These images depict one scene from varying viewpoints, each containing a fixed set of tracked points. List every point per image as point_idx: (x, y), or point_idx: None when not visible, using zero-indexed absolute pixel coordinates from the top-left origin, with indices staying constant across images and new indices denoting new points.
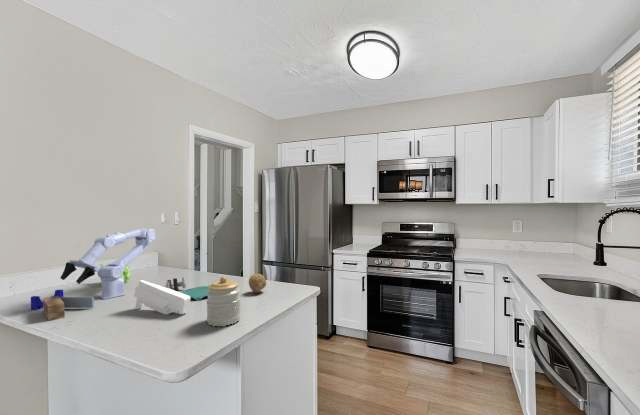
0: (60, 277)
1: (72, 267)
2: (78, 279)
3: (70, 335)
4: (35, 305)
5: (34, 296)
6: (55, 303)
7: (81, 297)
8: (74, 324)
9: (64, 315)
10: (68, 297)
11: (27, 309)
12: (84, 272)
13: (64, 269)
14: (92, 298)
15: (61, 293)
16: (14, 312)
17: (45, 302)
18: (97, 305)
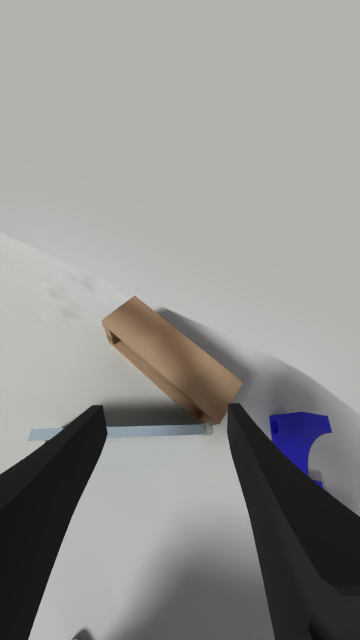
0: (238, 404)
1: (291, 613)
2: (83, 414)
3: (16, 243)
4: (282, 415)
5: (320, 423)
6: (134, 320)
7: None
8: (42, 293)
9: (108, 339)
10: (165, 425)
11: None
12: (9, 480)
13: (290, 460)
14: (34, 430)
15: None
16: (306, 392)
17: (185, 336)
18: None
